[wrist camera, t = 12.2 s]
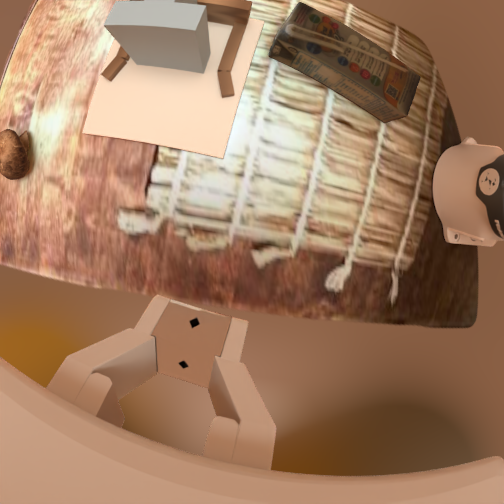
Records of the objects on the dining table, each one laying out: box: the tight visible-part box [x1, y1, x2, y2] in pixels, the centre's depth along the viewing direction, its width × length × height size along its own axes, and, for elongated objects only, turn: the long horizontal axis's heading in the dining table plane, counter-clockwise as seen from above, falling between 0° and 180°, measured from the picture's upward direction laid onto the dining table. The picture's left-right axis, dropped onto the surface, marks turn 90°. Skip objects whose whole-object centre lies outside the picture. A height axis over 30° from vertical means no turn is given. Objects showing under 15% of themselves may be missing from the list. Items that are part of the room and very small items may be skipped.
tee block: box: [104, 0, 211, 74], centre depth 23 cm, size 9×8×12 cm
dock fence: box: [101, 0, 252, 98], centre depth 26 cm, size 18×12×5 cm
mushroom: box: [0, 129, 29, 180], centre depth 28 cm, size 8×8×6 cm
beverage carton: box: [269, 2, 420, 123], centre depth 29 cm, size 8×19×6 cm, turn 64°
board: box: [83, 18, 264, 159], centre depth 30 cm, size 19×20×1 cm
